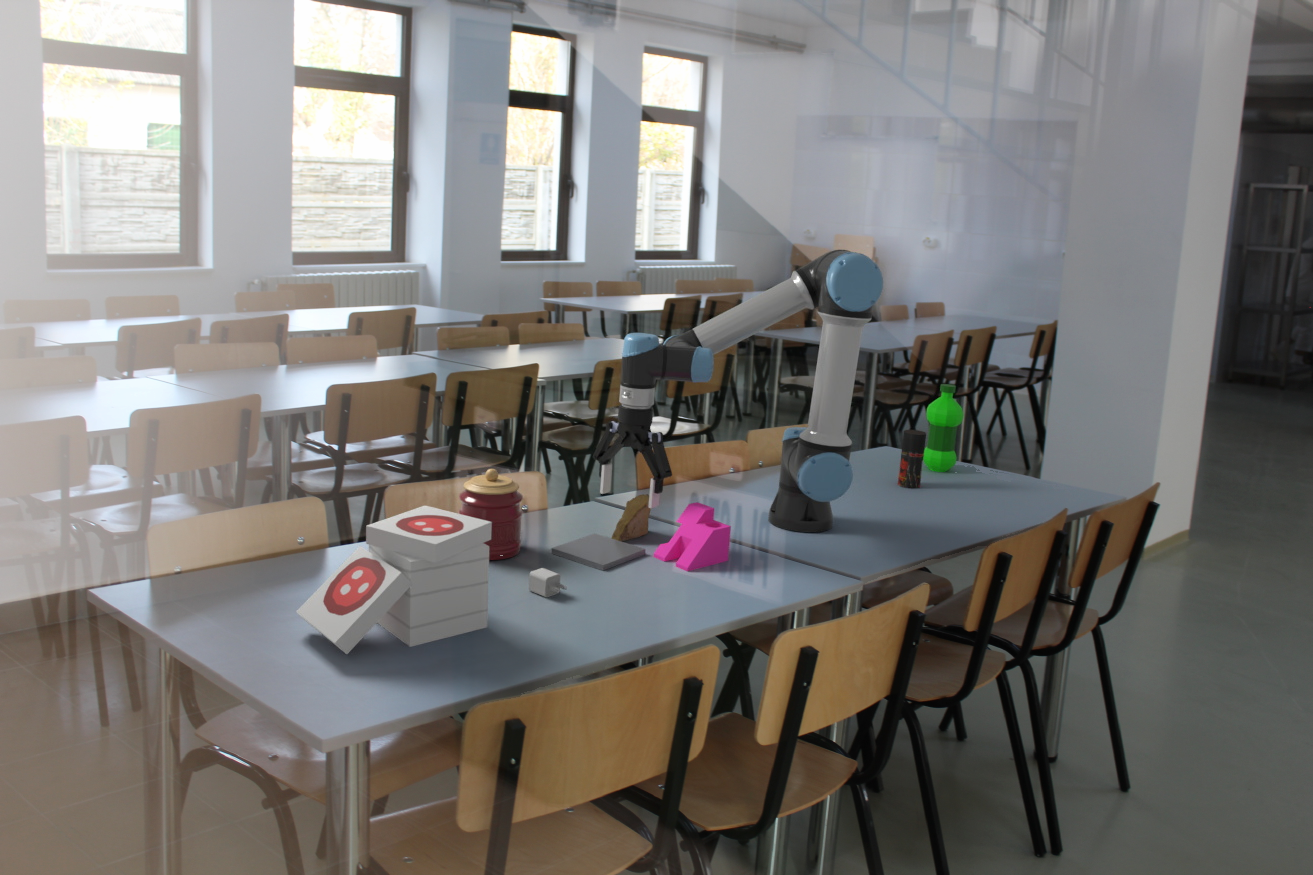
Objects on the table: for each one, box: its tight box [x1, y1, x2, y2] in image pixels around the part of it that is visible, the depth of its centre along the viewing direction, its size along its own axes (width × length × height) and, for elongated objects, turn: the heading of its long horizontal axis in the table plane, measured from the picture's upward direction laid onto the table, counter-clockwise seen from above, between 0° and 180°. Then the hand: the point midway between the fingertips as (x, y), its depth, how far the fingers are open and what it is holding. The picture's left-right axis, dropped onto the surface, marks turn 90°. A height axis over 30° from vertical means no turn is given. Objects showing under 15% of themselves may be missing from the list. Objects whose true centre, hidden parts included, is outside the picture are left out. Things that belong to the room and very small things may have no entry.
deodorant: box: [897, 429, 927, 490], centre depth 296 cm, size 6×6×15 cm
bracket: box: [653, 501, 732, 572], centre depth 228 cm, size 12×10×10 cm
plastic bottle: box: [923, 383, 964, 473], centre depth 314 cm, size 10×10×25 cm
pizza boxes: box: [295, 505, 492, 655], centre depth 183 cm, size 19×30×18 cm, turn 131°
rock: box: [611, 493, 652, 542], centre depth 241 cm, size 11×9×10 cm
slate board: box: [550, 533, 646, 571], centre depth 228 cm, size 14×14×1 cm
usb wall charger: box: [528, 567, 568, 598], centre depth 205 cm, size 4×7×4 cm, turn 50°
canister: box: [458, 468, 524, 561], centre depth 224 cm, size 13×13×18 cm
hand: (628, 499), depth 239 cm, fingers open, 13 cm apart
